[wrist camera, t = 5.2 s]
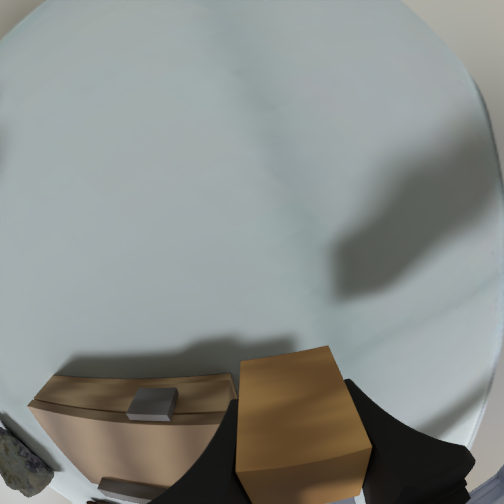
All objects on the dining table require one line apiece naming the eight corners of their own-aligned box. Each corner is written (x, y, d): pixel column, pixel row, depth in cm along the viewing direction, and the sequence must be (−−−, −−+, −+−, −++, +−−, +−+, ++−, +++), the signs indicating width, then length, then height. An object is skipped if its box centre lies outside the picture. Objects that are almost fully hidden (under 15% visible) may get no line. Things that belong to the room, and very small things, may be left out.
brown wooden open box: (230, 372, 19) (226, 410, 15) (257, 457, 22) (258, 488, 18) (53, 375, 20) (33, 398, 16) (105, 452, 23) (94, 475, 19)
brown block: (328, 345, 12) (371, 446, 6) (330, 404, 13) (359, 495, 7) (240, 361, 12) (235, 471, 6) (255, 417, 13) (258, 513, 7)
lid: (225, 383, 17) (220, 435, 12) (257, 474, 20) (259, 512, 15) (38, 380, 17) (13, 409, 13) (99, 464, 20) (87, 492, 16)
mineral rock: (-7, 410, 23) (-35, 443, 13) (36, 439, 24) (9, 480, 14) (18, 452, 26) (-1, 483, 16) (60, 477, 27) (43, 513, 17)
